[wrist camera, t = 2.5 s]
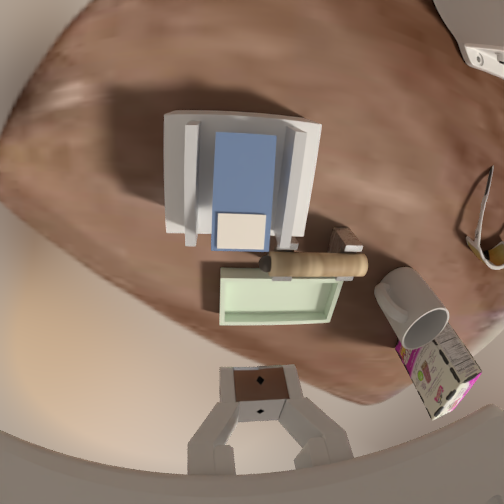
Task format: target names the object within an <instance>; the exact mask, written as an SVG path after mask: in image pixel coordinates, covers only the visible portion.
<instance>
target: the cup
mask: <svg viewBox="0 0 504 504" xmlns="http://www.w3.org/2000/svg"><path fill="white" fill-rule="evenodd" d="M374 295H375V297H376V300H377V302H378V304H379V306H380V308H381V309H382V311H383V313H384V314H385V316H386V318H387V319H388V321H389V323H390V325H391V326H392V328H393V330H394V332H395V333H396V335H397V337H398V339H399V340H400V342H401V344H402V346H403V347H404V348H405V349H408V350H414V349H418V348H420V347H423V346H425V345H426V344H428V343H430V342H431V341H432V340H434V339H435V338H436V337H437V336H438V335H439V334H440V333H441V332H442V330H443V329H444V328H445V326H446V324H447V322H448V319H449V312H448V310H447V309H446V307H445V306H444V305H443V303H442V302H441V301H440V300H439V298H438V297H437V296H436V295H435V293H434V292H433V291H432V290H431V288H430V287H429V286H428V285H427V283H426V282H425V281H424V280H423V278H422V277H421V276H420V275H419V274H418V273H417V272H416V271H415V270H414V269H413V268H410V267H400V268H397V269H394V270H393V271H391V272H389V273H388V274H387V275H386V276H385V277H384V278H383V279H382V280H381V282H380V283H379V284H378V285H376V286H375V290H374Z"/></svg>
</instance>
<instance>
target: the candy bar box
mask: <svg viewBox="0 0 504 504" xmlns="http://www.w3.org/2000/svg"><path fill="white" fill-rule="evenodd" d="M395 350H396V351H397V353H398V355H399V357H400V359H401V361H402V363H403V364H404V366H405V368H406V370H407V372H408V374H409V375H410V378H411V379H412V381H413V383H414V385H415V387H416V389H417V391H418V393H419V395H420V397H421V399H422V401H423V403H424V405H425V407H426V409H427V411H428V414H429V416H430V418H431V420H435V419H437V418H439V417H440V416H443V415H445V414H446V413H449V412H451V411H452V410H453V409H454V408H455V407H456V406H457V405H458V404H459V402H460V401H461V400H462V399H463V397H464V396H465V395H466V394H467V392H468V391H469V390H470V388H471V387H472V385H473V384H474V383H475V382H476V380H477V379H478V377H479V376H480V375H481V373H482V370H481V369H480V367H479V366H478V364H477V363H476V361H475V360H474V358H473V357H472V355H471V354H470V352H469V351H468V349H467V348H466V346H465V345H464V344H463V342H462V341H461V339H460V338H459V337H458V335H457V334H456V332H455V331H454V329H453V328H452V327H451V325H450V324H449V323H448V322H447V324H446V326H445V328H444V329H443V330H442V332H441V333H440V334H439V335H438V336H437V337H436V338H435V339H434V340H432V341H431V342H430V343H428V344H426V345H425V346H423V347H420V348H418V349H414V350H408V349H405V348H404V347H403V346H402V344H401V342H400V340H399V339H398V342H397V345H396V348H395Z"/></svg>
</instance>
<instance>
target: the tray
mask: <svg viewBox="0 0 504 504" xmlns="http://www.w3.org/2000/svg"><path fill="white" fill-rule="evenodd" d="M342 284H343V281H336V280H335V278H334V277H292V280H291V281H272V279H271V277H270V276H269V274H268V272H263V271H262V270H261V269H260V268H222V267H221V269H220V311H219V317H220V325H287V324H312V323H330V320H331V317H332V314H333V311H334V308H335V305H336V302H337V300H338V297H339V293H340V290H341V287H342Z"/></svg>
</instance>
